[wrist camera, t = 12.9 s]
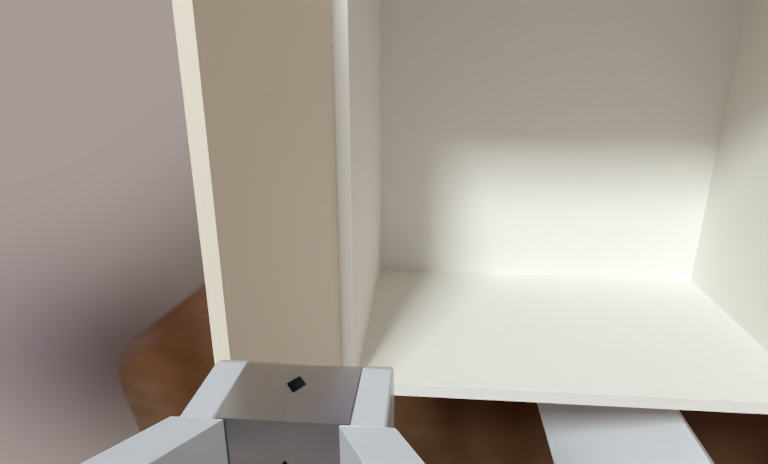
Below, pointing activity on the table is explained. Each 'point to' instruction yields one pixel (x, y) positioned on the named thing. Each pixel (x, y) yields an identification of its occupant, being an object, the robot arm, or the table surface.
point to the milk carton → (619, 435)
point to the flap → (264, 174)
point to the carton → (556, 199)
